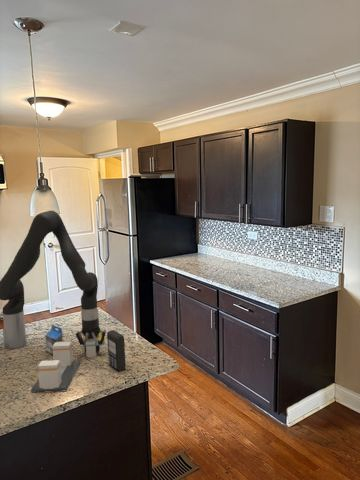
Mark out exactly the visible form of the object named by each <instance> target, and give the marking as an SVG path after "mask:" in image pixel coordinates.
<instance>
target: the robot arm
mask: <svg viewBox="0 0 360 480" xmlns="http://www.w3.org/2000/svg"><path fill="white" fill-rule="evenodd" d="M50 233H53V235H54V236H55V238H56V240H57V241H58V245H59V249H60V253H61V257H62V259H63V262H64V264H65V265H66V266H67V269H69V270H70V272H71V273H72V274H71V275H72V278H73V279H74V282H75V285H77V288H79V290H81V291H82V295H81V297H80V307H81V308H80V309H81V310H80V311H81V312H80V313H81V314H80V317H81V330H78V331H76V333H75V336H76V339H77V341H78V343H79V345H80V346H84V347H83V348H84V353H86V341H88V339H94V341H95V342H96V353H97V354H98V353H99V352H100V350H101V349H100V348H101V347H100V344H102V343H103V341H104V339H105V337H106V335H107V330H106V329H105V330H104V329H101V328H100V319H99V316H100V314H99V309H98V308H99V307H98V297H97V296H98V288H99V286H98V285H99V280H98V277H97V275H96V274H95V273H94V272H89V271H87V270H86V263H85V261H84V259H83V258H82V256H81V254H80V253H79V252H78V250H77V248H76V247H75V245H74V243H73V241H72V238H71V237H70V234H69V232H68V230H67V228H66V225H65V223H64V222H63V220H62V217H61V215H60V214H59V213H58V212H56V211H55V210H47V211H43V212H40V213H37V214H36V215H35V217H33V219H32V222H31V223H30V227H29V229H28V232H27V235H26V236H25V238H24V240H23V241H22V244H21V246H20V247H19V249H18V250H17V252H16V254H15V256H14V258H13V261H12V262H11V264H10V266H9V267H8V269H7V271H6V272H5V274H4V275H3V277H2V278H0V300H1V301H7V302H6V303H5V304H4V305H3V307H2V320H3V328H2V339H3V347H4V349H8V350H16V349H19V348H23V347H25V346H26V345H27V344H28V343H27V333H26V324H25V323H26V321H25V313H24V306H25V288H24V287H25V286H24V284H23V282H22V281H21V279H23V278H24V277H25V276H26V275H27V274H28V273H30V271H31V270H32V269H33V268H34V267H35V266H36V264H37V262H38V261H39V259H40V256H41V245H42V242H43V241H44V240H45V238H46V237H47V235H49V234H50ZM99 333H101V335H102V337H101V340H100V341H99V338H98V334H99ZM82 335H84V336H85V341H83V336H82Z"/></svg>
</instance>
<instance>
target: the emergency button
mask: <svg viewBox="0 0 360 480" xmlns="http://www.w3.org/2000/svg"><path fill="white" fill-rule="evenodd" d="M82 335H83V334H82ZM101 337H102V335H101V333H99V334H98V338H99V341H100V340H101ZM82 338H83V341H85V336H84V335H83V336H82ZM105 341H106V340H105V338H104V341H103V343H102V344H100V348H104V347H106V346H107V344H106V342H105Z"/></svg>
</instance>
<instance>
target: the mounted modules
mask: <svg viewBox="0 0 360 480" xmlns="http://www.w3.org/2000/svg"><path fill="white" fill-rule="evenodd" d="M52 347H53V354H52V355H53V356H52V358H53V360H41V361H40V362H39V364H37V371H38V379H39V386H40V388H59V386H60V384H61V382H62V381H61V368H60V366H71V364H72V362H73V361H74V356H73V355H74V354H73V342H72V341H63V342H55V343H54V345H53V346H52Z"/></svg>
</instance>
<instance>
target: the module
mask: <svg viewBox="0 0 360 480" xmlns="http://www.w3.org/2000/svg"><path fill="white" fill-rule="evenodd" d="M85 354H86V358H96V357H97V355H98V353H96V342H95V341H94V339H88V341H86V352H85Z"/></svg>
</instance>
